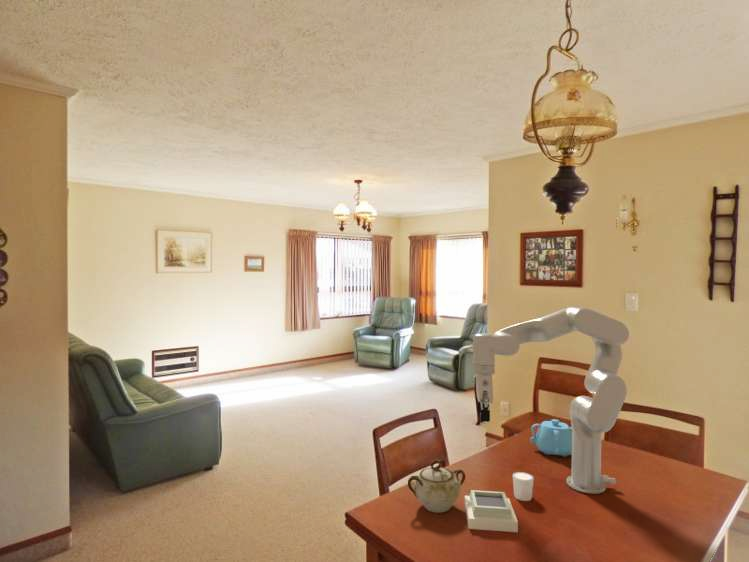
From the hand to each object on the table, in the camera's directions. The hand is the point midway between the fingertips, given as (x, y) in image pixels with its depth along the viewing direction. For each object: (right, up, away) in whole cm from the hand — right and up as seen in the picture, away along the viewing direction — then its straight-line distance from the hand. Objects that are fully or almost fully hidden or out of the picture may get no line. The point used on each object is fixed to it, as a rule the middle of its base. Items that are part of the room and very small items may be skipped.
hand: (483, 416), depth 158 cm
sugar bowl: (-18, -25, -14) cm, 34 cm away
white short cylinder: (+11, -25, -8) cm, 28 cm away
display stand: (-3, -25, -21) cm, 32 cm away
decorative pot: (+38, -25, +32) cm, 55 cm away
